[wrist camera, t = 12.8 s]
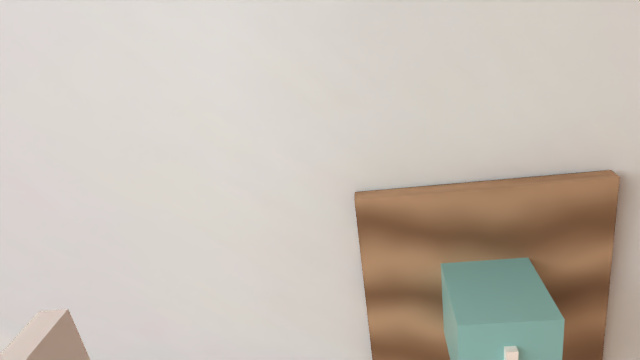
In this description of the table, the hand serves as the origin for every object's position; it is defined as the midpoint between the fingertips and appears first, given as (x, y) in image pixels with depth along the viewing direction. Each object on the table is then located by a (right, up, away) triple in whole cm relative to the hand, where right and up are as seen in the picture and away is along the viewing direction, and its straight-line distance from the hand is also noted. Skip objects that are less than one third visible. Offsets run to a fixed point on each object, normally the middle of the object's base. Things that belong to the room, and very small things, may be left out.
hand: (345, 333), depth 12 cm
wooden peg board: (+13, -6, +32) cm, 36 cm away
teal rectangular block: (+13, -6, +31) cm, 34 cm away
